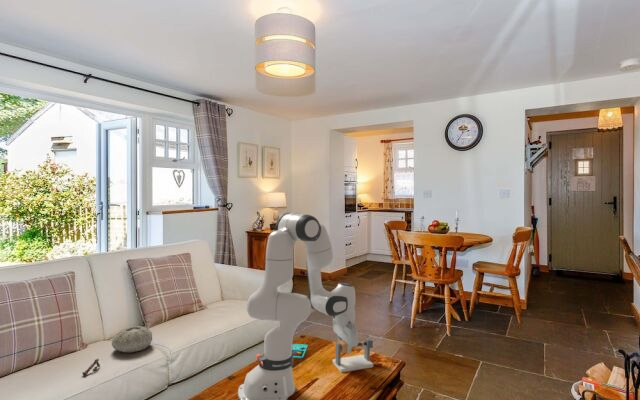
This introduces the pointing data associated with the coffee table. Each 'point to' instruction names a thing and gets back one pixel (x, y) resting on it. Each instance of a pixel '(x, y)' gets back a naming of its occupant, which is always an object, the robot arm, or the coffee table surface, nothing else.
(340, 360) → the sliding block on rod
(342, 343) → the marker sleeve
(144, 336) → the rock
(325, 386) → the coffee table surface
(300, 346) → the handheld gaming console
